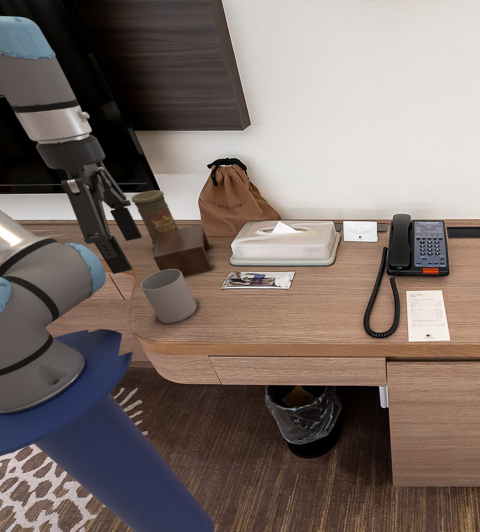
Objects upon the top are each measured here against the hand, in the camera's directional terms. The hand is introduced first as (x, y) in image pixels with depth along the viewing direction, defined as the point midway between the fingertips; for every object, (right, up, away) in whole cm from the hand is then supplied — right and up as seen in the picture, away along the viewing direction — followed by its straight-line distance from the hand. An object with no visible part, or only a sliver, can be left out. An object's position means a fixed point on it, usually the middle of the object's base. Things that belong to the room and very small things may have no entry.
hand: (129, 253), depth 65 cm
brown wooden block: (-13, -1, +40) cm, 42 cm away
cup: (-4, -14, +20) cm, 25 cm away
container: (-25, +4, +49) cm, 55 cm away
